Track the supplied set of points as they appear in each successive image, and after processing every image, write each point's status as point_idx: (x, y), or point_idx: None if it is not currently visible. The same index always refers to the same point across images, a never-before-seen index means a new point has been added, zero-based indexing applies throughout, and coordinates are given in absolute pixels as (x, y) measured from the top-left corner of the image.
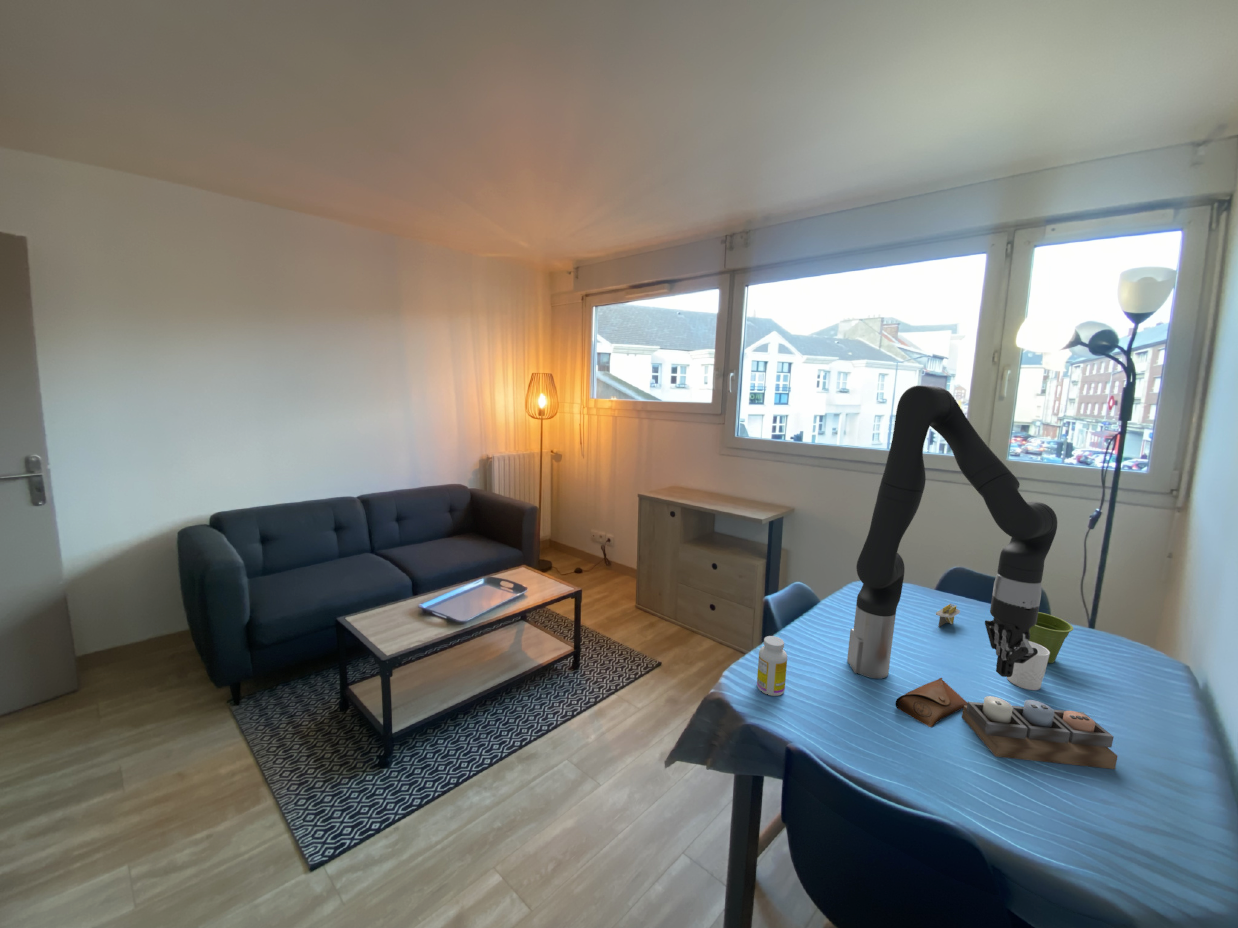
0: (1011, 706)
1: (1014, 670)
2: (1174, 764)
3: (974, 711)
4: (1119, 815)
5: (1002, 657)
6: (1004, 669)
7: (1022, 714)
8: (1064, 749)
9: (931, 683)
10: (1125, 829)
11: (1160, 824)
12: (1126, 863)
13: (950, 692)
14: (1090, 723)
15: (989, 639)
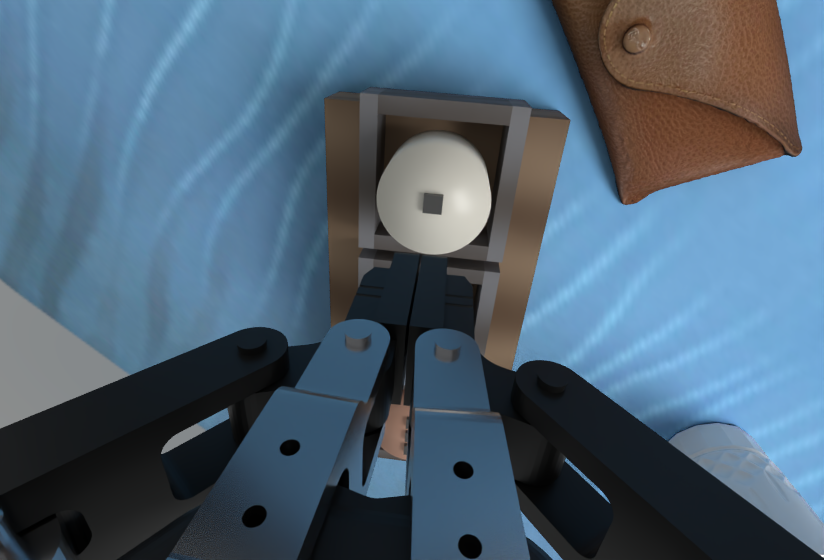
0: (412, 247)
1: (734, 462)
2: (378, 497)
3: (469, 100)
4: (180, 275)
5: (358, 331)
6: (374, 290)
7: None
8: (334, 309)
9: (763, 52)
10: (135, 252)
11: (182, 336)
12: (16, 166)
13: (686, 135)
14: (387, 442)
15: (641, 426)
